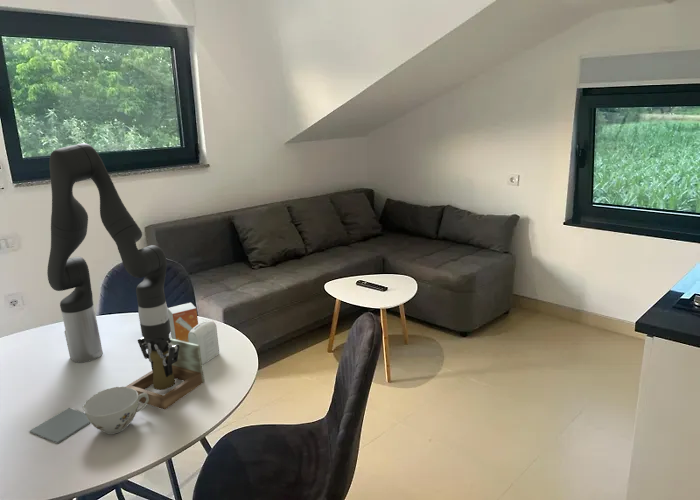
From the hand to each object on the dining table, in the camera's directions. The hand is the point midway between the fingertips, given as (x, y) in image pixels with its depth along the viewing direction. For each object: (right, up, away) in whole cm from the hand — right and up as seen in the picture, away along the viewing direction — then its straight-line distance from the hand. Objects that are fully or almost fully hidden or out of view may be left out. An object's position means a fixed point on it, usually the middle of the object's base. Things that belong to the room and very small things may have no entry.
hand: (162, 373), depth 146 cm
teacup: (-6, -10, -14) cm, 18 cm away
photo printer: (+7, 0, +18) cm, 20 cm away
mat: (-21, -10, -13) cm, 27 cm away
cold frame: (0, -5, +1) cm, 5 cm away
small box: (-3, +3, +30) cm, 30 cm away
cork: (0, -3, +1) cm, 4 cm away
